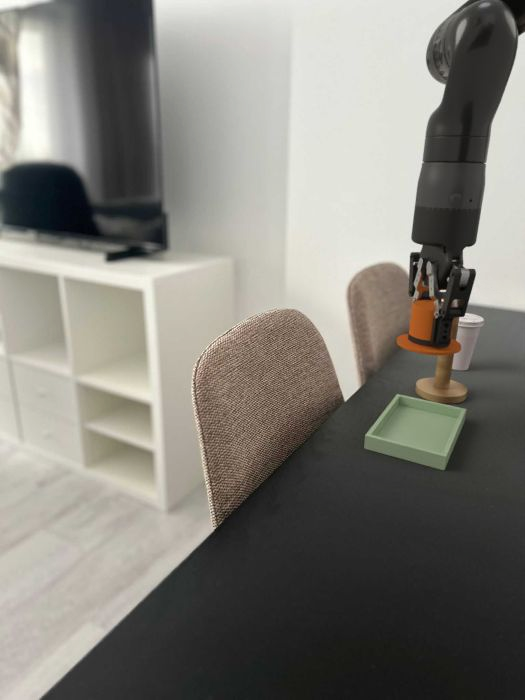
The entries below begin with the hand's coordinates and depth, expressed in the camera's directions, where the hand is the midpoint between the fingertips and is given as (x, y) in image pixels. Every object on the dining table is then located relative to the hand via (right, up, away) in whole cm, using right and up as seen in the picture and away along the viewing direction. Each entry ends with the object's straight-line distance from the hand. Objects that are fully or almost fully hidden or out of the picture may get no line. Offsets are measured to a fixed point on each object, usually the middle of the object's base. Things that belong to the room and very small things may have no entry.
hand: (429, 338), depth 66 cm
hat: (0, -1, 0) cm, 1 cm away
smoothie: (+15, -5, +30) cm, 34 cm away
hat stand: (+8, -9, +18) cm, 21 cm away
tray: (0, -13, +5) cm, 14 cm away
